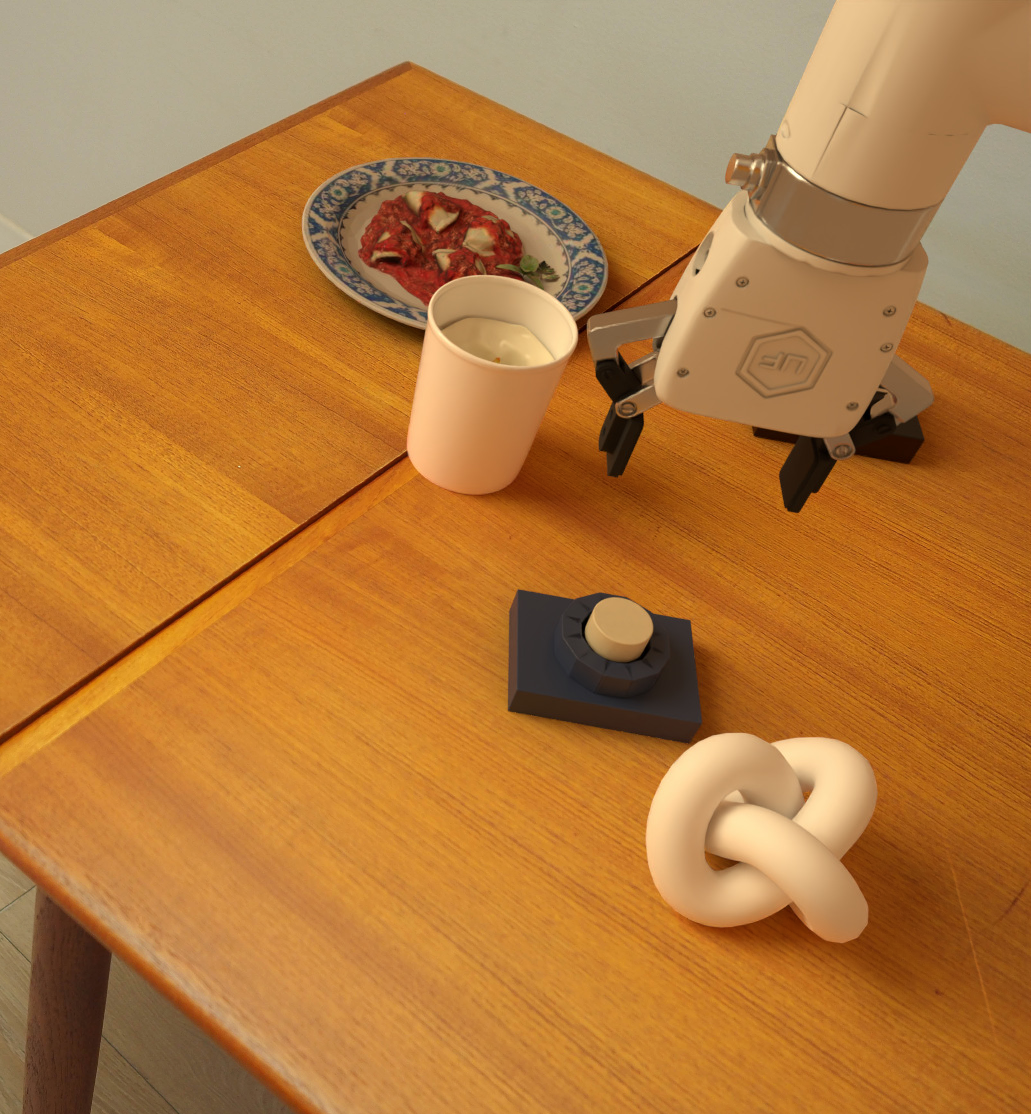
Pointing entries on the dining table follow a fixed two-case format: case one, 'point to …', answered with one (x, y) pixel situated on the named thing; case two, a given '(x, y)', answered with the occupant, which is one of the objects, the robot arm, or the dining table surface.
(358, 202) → the ceramic plate
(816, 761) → the white knot sculpture
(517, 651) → the push button box
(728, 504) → the dining table surface
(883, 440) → the black dial base
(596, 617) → the bell button
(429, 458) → the candle holder
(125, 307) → the dining table surface
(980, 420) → the dining table surface
